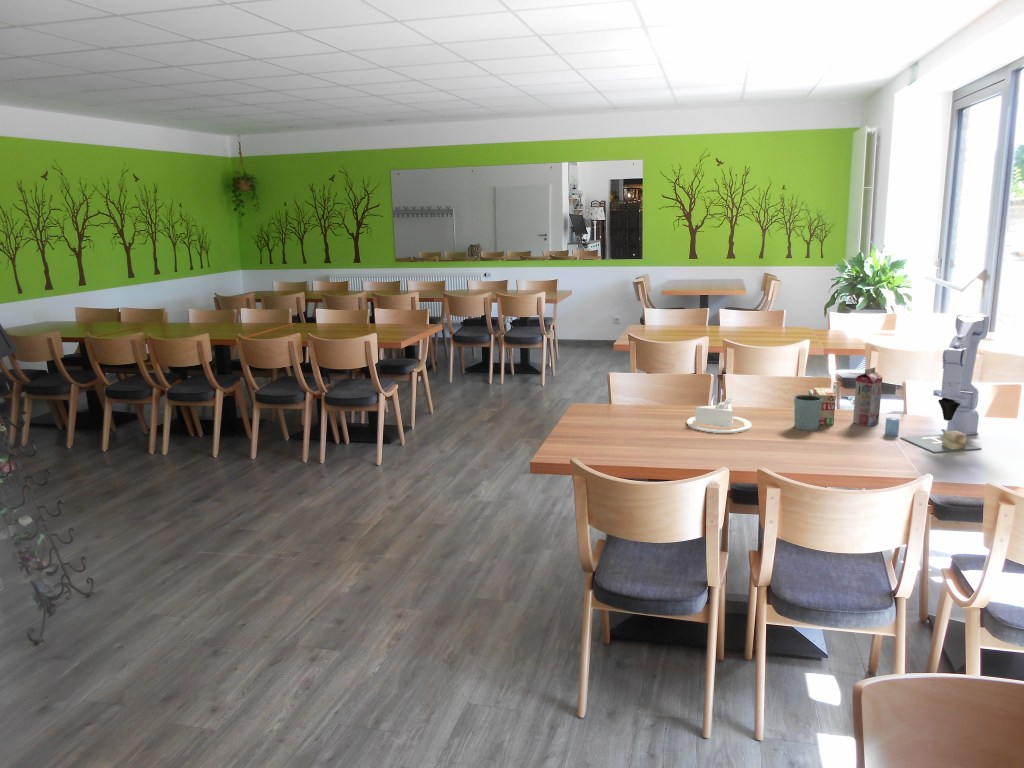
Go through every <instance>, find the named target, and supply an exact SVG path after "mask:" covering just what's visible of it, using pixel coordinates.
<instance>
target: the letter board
mask: <svg viewBox="0 0 1024 768" xmlns="http://www.w3.org/2000/svg"><path fill="white" fill-rule="evenodd" d="M900 440H903V441H906V442H908V443H910V444H912V445H915V446H917V447H919V448H922V449H924V450H926V451H929V452H931V453H933V454H939V453H940V454H941V453H942V454H943V453H954V452H964V451H965V452H966V451H967V452H968V451H977V450H976V449H981V450H982V447H979V446H978V445H974V444H971V443H969V442H967V441H966V445H965V449H950V448H947V447H945V446H943V445H942V440H943V433H937V434H923V435H910V436H900Z"/></svg>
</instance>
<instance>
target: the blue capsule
mask: <svg viewBox="0 0 1024 768" xmlns="http://www.w3.org/2000/svg"><path fill="white" fill-rule="evenodd" d="M899 433H900V419H899V418H898V417H886V419H885V427H884V435H885V434H886V435H885V436H887V435H889V436H888V437H899Z"/></svg>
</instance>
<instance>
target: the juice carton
mask: <svg viewBox="0 0 1024 768" xmlns="http://www.w3.org/2000/svg"><path fill="white" fill-rule="evenodd" d="M855 378H856V380H855V391H854V393H855V394H854V403H853V404H854V405H853V420H852V423H853V424H855V423H856V425H860V424H861V426H864V425H866V426H865V427H872V426H874V424H875V425H878V424H879V422H880V421H879V420H880V410H881V409H880V408H881V401H882V400H881V397H882V386H883V385H882V384H883V376H882V375H881V374H879V373H878V372H876V367H871V368H867V369H865V370H864V373H863V374H859V375H857V376H856V377H855ZM877 423H878V424H877ZM871 425H872V426H871Z"/></svg>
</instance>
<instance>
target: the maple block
mask: <svg viewBox="0 0 1024 768" xmlns="http://www.w3.org/2000/svg"><path fill="white" fill-rule="evenodd" d="M942 434H943V440H942V445H943V446H945V447H947V448H950V449H965V445H966V442H967V435H966V434H964V433H961V432H958V431H942Z"/></svg>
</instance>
